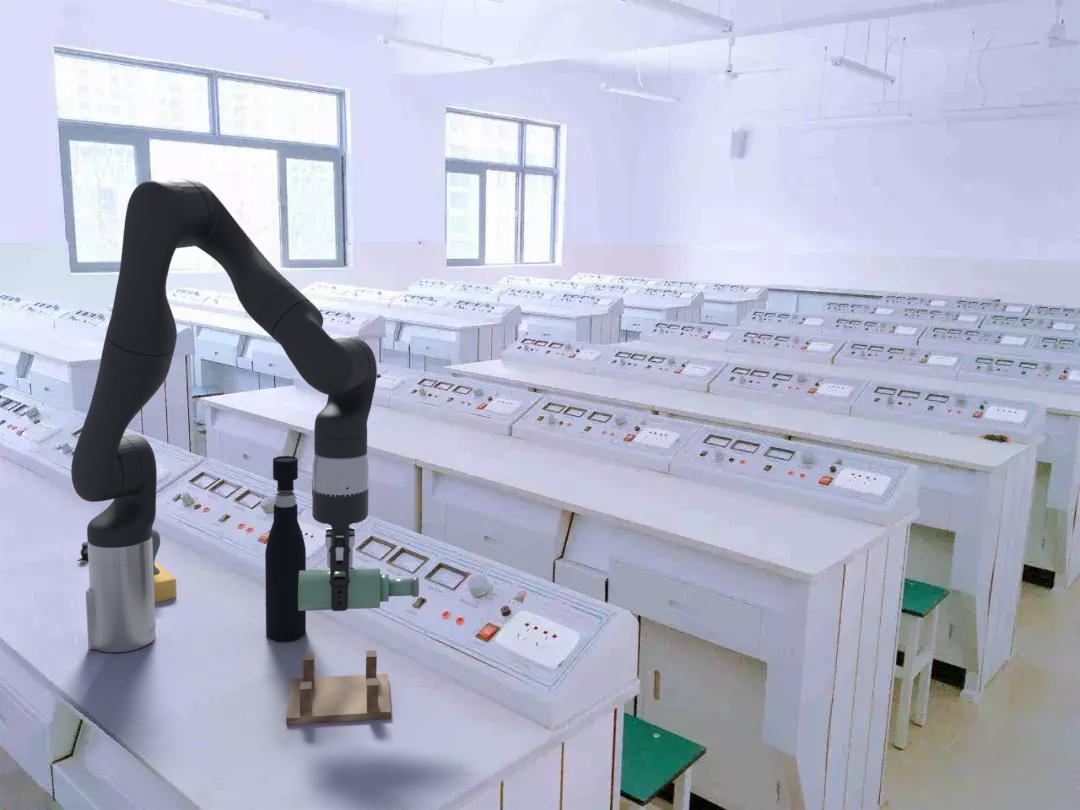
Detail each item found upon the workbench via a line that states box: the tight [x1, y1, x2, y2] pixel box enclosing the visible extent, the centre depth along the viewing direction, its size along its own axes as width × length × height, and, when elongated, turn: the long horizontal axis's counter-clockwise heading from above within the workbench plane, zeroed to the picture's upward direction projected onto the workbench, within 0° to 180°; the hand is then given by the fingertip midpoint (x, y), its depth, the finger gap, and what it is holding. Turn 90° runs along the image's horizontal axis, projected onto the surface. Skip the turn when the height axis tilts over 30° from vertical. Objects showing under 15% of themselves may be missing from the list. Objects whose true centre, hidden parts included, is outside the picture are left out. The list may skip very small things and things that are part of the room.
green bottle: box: [298, 567, 420, 612], centre depth 126 cm, size 16×6×6 cm, turn 102°
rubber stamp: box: [152, 528, 178, 603], centre depth 162 cm, size 10×6×12 cm, turn 41°
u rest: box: [285, 649, 392, 726], centre depth 128 cm, size 14×11×5 cm
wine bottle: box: [264, 455, 307, 643], centre depth 146 cm, size 6×6×30 cm
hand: (339, 600), depth 125 cm, fingers closed on green bottle, 5 cm apart
